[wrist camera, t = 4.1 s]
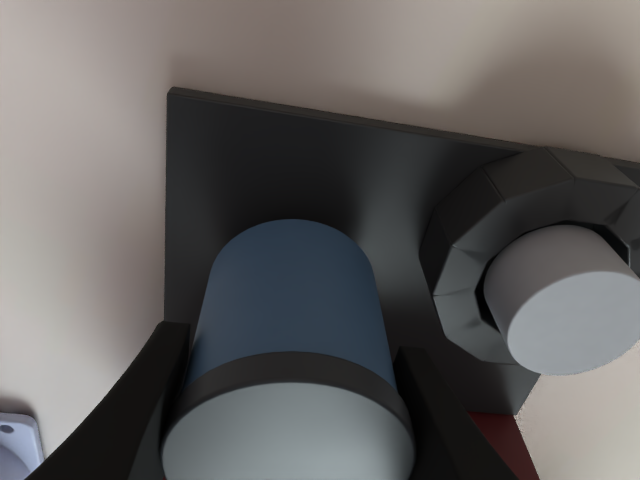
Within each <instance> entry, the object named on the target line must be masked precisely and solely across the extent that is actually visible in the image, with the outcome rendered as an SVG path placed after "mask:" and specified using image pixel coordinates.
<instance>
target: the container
mask: <svg viewBox="0 0 640 480" xmlns="http://www.w3.org/2000/svg"><path fill="white" fill-rule="evenodd" d="M159 455H160V464H161V468H162V471H163V474H164V477H165V479H166V480H409V478H410V476H411V475H412V472H413V469H414V467H415V463H416V456H417V446H416V439H415V434H414V430H413V425H412V421H411V417H410V414H409V410H408V408H407V406H406V404H405V402H404V400H403V399H402V398H401V396H400V395H399V394H398V390H397V385H396V380H395V375H394V370H393V365H392V360H391V355H390V350H389V346H388V341H387V336H386V331H385V326H384V321H383V316H382V311H381V306H380V301H379V296H378V291H377V287H376V282H375V277H374V273H373V269H372V266H371V264H370V262H369V259H368V257H367V256H366V255H365V253H364V252H363V250H362V249H361V248H360V247H359V246H358V245H357V244H356V243H355V242H354V241H353V240H352V239H350V238H349V237H348V236H347V235H345V234H343V233H342V232H340V231H339V230H337V229H334V228H332V227H330V226H328V225H324V224H321V223H318V222H314V221H308V220H299V219H282V220H276V221H270V222H266V223H262V224H259V225H256V226H254V227H251V228H249V229H247V230H245V231H244V232H242V233H240V234H239V235H237V236H236V237H234V238H233V239H232V240H230V241H229V242H228V243H227V244H226V245H225V246H224V247H223V249H222V250H221V251H220V253H219V254H218V255H217V257H216V259H215V261H214V263H213V266H212V268H211V271H210V275H209V280H208V284H207V288H206V292H205V296H204V300H203V305H202V309H201V313H200V317H199V321H198V325H197V329H196V334H195V338H194V342H193V346H192V350H191V354H190V359H189V363H188V367H187V371H186V375H185V379H184V383H183V388H182V392H181V394H180V395H179V396H178V398H177V399H176V400H175V402H174V404H173V405H172V407H171V409H170V412H169V415H168V417H167V421H166V424H165V428H164V432H163V436H162V440H161V445H160V453H159Z"/></svg>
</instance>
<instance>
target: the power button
mask: <svg viewBox="0 0 640 480" xmlns="http://www.w3.org/2000/svg"><path fill="white" fill-rule="evenodd" d="M484 297H485V300H486V302H487V305H488V307H489V309H490V311H491V313H492V315H493V318H494V320H495V322H496V324H497V326H498V328H499V330H500V333H501V335H502V337H503V339H504V341H505V343H506V345H507V348H508V350H509V352H510V353H511V355H512V357H513V358H514V359H515V360H516V361H517V362H518V363H519V364H520V365H522V366H523V367H525V368H527V369H529V370H531V371H533V372H537V373H540V374H546V375H557V376H558V375H572V374H578V373H582V372H586V371H590V370H593V369H596V368H598V367H601V366H603V365H605V364H607V363H609V362H611V361H613V360H615V359H616V358H618V357H620V356H621V355H622V354H624V353H625V352H626V351H628V350H629V349H630V348H631V347H632V346H633V345H634V344H635V343H636V342H637V341H638V340H639V339H640V279H639V277H638V276H637V275H636V274H635V273H634V272H633V271H632V270H631V269H630V267H629V266H628V265H627V264H626V263H625V262H624V261H623V260H622V259H621V258H620V256H619V255H618V254H617V253H616V252H615V251H614V250H613V249H612V248H611V246H610V245H609V244H608V243H607V242H606V241H605V240H604V239H603V238H602V237H601V236H600V235H599V234H597V233H596V232H594V231H592V230H590V229H587V228H584V227H580V226H575V225H554V226H548V227H544V228H540V229H537V230H534V231H531V232H529V233H527V234H525V235H523V236H521V237H519V238H518V239H516V240H514V241H513V242H512V243H510V244H509V245H508V246H506V247H505V248H504V249H503V250H502V251H501V252H500V253H499V254H498V255H497V256H496V258H495V259H494V260H493V262H492V263H491V265H490V267H489V269H488V271H487V274H486V276H485V281H484Z"/></svg>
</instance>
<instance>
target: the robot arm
mask: <svg viewBox="0 0 640 480" xmlns="http://www.w3.org/2000/svg"><path fill="white" fill-rule="evenodd" d="M189 341H190V324H188V323H178V322H169V321H162V322H161V323H159V324H158V325H157V327H156V328H155V330H154V332H153V333H152V335H151V336H150V338H149V339H148V341H147V342H146V344H145V345H144V347H143V348H142V350H141V351H140V353H139V354H138V355H137V357H136V358H135V359H134V361H133V362H132V363H131V365H130V366H129V367H128V369H127V370H126V371H125V372H124V374H123V375H122V376H121V377H120V379H119V380H118V381H117V382H116V384H115V385H114V386H113V387H112V389H111V390H110V391H109V392H108V394H107V395H106V396H105V397H104V398H103V399H102V401H101V402H100V403H99V404H98V405H97V406H96V407H95V408H94V410H93V411H92V412H91V413H90V414H89V415H88V416H87V417H86V418H85V420H84V421H83V422H82V423H81V424H80V425H79V426H78V427H77V428H76V429H75V431H74V432H73V433H72V434H71V435H70V436H69V437H68V438H67V439H66V440H65V441H64V442H63V443H62V444H61V445H60V446H59V447H58V448H57V449H56V450H55V451H54V452H53V453H52V454H51V455H50V456H49V457H48V458H47V459H46V460H45V461H44V456H43V451H42V446H41V441H40V436H39V431H38V427H37V423H36V421H35V419H33V418H32V417H30V416H28V415H24V414H13V413H1V412H0V480H163V477H164V474H163V471H162V468H161V464H160V455H159V453H160V445H161V440H162V436H163V432H164V428H165V424H166V421H167V417H168V415H169V412H170V409H171V407H172V405H173V404H174V402H175V400H176V399H177V398H178V396H179V395H180V394H181V392H182V388H183V383H184V379H185V375H186V371H187V367H188V360H189ZM393 370H394V375H395V380H396V385H397V390H398V394H399V395H400V396H401V398H402V399H403V400H404V402H405V404H406V406H407V408H408V410H409V414H410V417H411V421H412V425H413V430H414V434H415V439H416V446H417V456H416V463H415V467H414V469H413V472H412V475H411V476H410V478H409V480H519V478H518V477H517V476H516V475H515V474H514V473H513V471H512V470H511V469H510V468H509V467H508V465H507V464H506V463H505V462H504V460H503V459H502V458H501V457H500V455H499V454H498V453H497V452H496V450H495V449H494V448H493V447H492V445H491V444H490V443H489V441H488V440H487V439H486V437H485V436H484V435H483V433H482V432H481V431H480V429H479V428H478V427H477V425H476V424H475V422H474V421H473V420H472V418H471V417H470V415H469V414H468V413H467V411H466V410H465V408H464V407H463V406H462V404H461V403H460V401H459V400H458V398H457V397H456V395H455V394H454V392H453V391H452V389H451V388H450V386H449V385H448V383H447V382H446V380H445V379H444V377H443V376H442V374H441V373H440V371H439V370H438V368H437V367H436V365H435V364H434V362H433V361H432V359H431V358H430V356H429V355H428V353H427V352H426V350H425V349H424V348H416V347H407V346H399V349H398V352H397V354H396V357H395V360H394V363H393Z"/></svg>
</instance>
